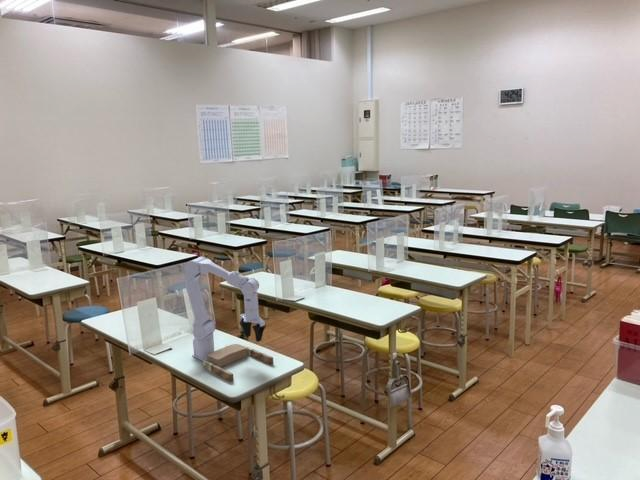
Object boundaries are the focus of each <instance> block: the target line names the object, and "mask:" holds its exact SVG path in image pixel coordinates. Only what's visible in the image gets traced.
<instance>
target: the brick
mask: <svg viewBox="0 0 640 480" xmlns="http://www.w3.org/2000/svg"><path fill="white" fill-rule="evenodd" d="M244 346H245V345H241V344H239V343H233V344H230V345H227V346H226V345H225V346H224V347H222V348H219V349H217V350H214V352H211V353H209V354H207V355H206V356H207V360H206V361H208V362H210V363H212V364H214V365H216V366H218V367H220V368H222V367H225V366H228V365H230V364H232V363H234V362H236V361H239V360H242V359H244V358H247V357H248V356H249V355H248V351H247V348H246V347H244Z"/></svg>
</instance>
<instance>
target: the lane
mask: <svg viewBox="0 0 640 480" xmlns="http://www.w3.org/2000/svg"><path fill="white" fill-rule="evenodd" d="M243 346H244V347H246V348H247V351H248V355H247V356H250V357H253V358H255V359H257V360H259V361H262V362H264V363H266V364H268V365H269V366H270V365H271V366H272V365H274V357H273V356H271V355H268V354H266V353H263V352H262V351H259V350H256V349H254V348H252V347H249V346H247V345H243ZM202 368H204V369H205V370H208V371H209V372H211V373H213V374H215V375H217V376H218V377H221V378H223V379H224V380H227V381H229V382H231V383H232V382H234V380H235V379H234V373H233V372H230V371H228V370H227V369H224V368H222V367H218V366H216V365H214V364H212V363H210V362H208V361H207V360H204V361H202Z"/></svg>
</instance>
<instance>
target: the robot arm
mask: <svg viewBox="0 0 640 480" xmlns="http://www.w3.org/2000/svg"><path fill="white" fill-rule="evenodd" d="M183 270H184V273H183V283H184V286H185V289H186V293H187V297H188V300H189V303H190V306H191V310H192V314H193V317H194V318H193V319H194V320H193V322H192V328H193V329H192V335H193V337H194V338H193V340H192V348H193V354H192V357H193V358H196V359H198V360H200V361H201V362H203V361H204V360H206V361H207V356H206V355H207V354H209V353H211V352H214V351H215V338H214V332H215V330H216V327H217V326H216V323H215V322H214V321H213V319H212V316H211V315H209V314H208V313H207V309H206V305H205V303H204V299H203V295H202V291H201V289H200V285H199V278H200V277H201V276H202V274H207V273H210V274H213V275H215V276H218V277H220V278H222V279H224V280H226V283H227V284H228V285H230V286H232V287H234V288H236V289H238V290H240V291H241V293H242V294H243V300H244V301H243V303H244V313H242V314H240V315H239V317H240V321H239V322H238V323H239V325H240V326H241V327H242V330H243V332H244V336H245V338H248V337H251V334H252V333H251V332H252V329H253V331H254V334H255V341H256V342H257V343H259V342H260V341H262V338H263V335H264V334H263V333H264V330H265V329H266V327H267V324H266V321H265V320H264V319H262V318H261V317H260V314H259V297H258V290H259V288H260V282H259V281H258V280H257V279H255V278H254V277H250V278H249V276H245V275H242V274H240V272H239V271H238V270H236V271H234V270H233V271H228V270H227V269H225V268H224V267H222V266H220V265H218V264H216V263H215V262H213V261H212V260H211V259H209V258H207V257H205V256H199V257H197V258H194V259H192V260H188V262H187V263H186V264H185V265H184V266H183ZM252 323H253V324H255V325H252Z"/></svg>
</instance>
